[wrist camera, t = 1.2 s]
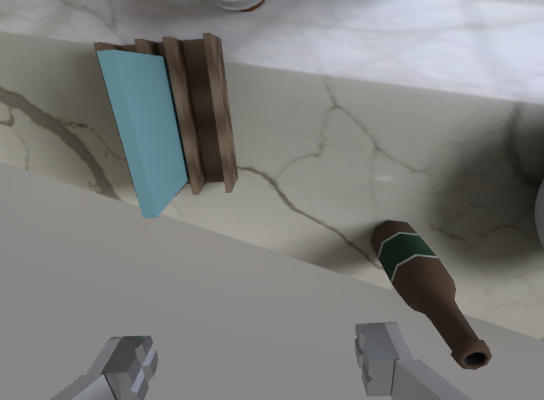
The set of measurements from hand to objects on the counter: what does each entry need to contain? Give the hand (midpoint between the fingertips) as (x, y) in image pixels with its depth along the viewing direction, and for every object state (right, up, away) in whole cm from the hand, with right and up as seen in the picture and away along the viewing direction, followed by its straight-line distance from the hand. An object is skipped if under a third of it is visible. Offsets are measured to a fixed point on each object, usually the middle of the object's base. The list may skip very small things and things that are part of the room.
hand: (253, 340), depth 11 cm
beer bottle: (+22, -1, +40) cm, 46 cm away
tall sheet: (-13, +17, +31) cm, 38 cm away
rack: (-13, +18, +32) cm, 39 cm away
